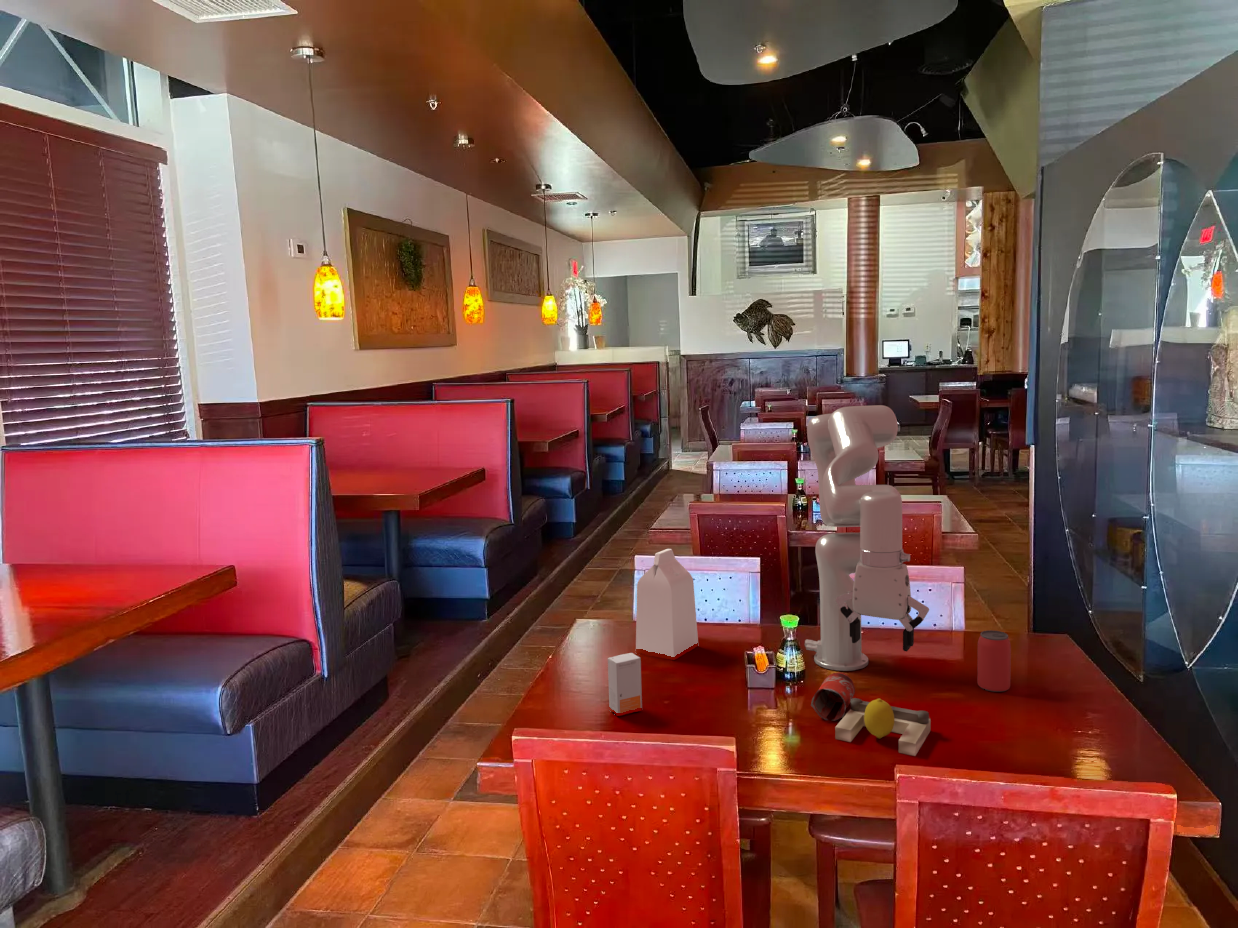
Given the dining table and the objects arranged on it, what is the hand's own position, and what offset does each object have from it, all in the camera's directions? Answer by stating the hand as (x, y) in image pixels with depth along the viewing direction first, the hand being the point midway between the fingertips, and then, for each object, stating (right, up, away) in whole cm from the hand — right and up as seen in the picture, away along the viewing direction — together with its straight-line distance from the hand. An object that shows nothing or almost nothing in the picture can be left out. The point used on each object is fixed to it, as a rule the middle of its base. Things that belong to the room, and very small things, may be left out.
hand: (881, 644), depth 159 cm
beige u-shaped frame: (+1, -18, +3) cm, 19 cm away
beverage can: (-5, -17, +16) cm, 24 cm away
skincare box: (-48, -19, +19) cm, 55 cm away
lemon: (0, -19, +2) cm, 19 cm away
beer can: (+32, -15, +23) cm, 42 cm away
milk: (-38, -14, +56) cm, 69 cm away
